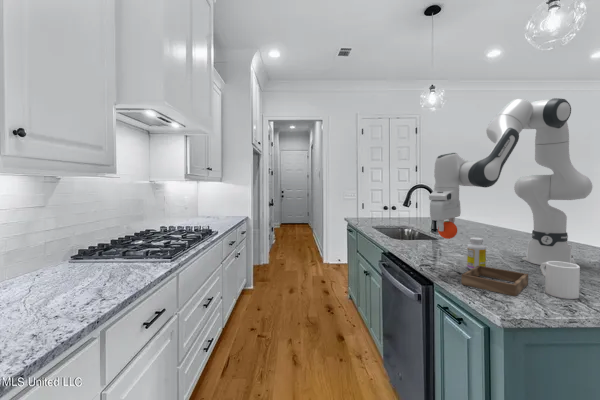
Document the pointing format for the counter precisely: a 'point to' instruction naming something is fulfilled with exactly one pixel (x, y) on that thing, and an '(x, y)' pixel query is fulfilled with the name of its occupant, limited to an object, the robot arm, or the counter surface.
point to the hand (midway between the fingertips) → (446, 229)
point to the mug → (561, 279)
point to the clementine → (448, 230)
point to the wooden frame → (501, 287)
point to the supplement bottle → (476, 253)
